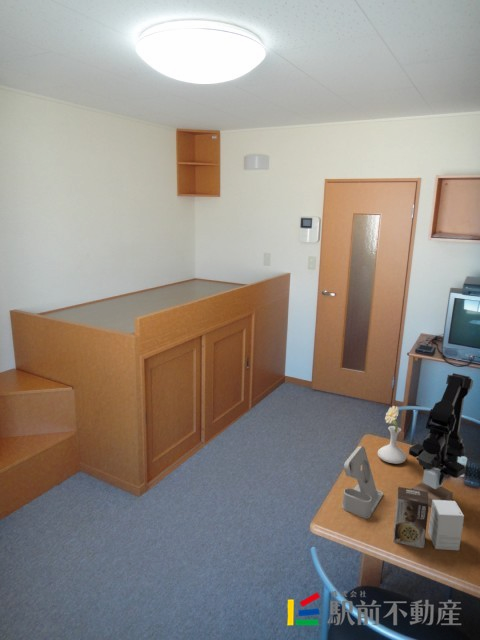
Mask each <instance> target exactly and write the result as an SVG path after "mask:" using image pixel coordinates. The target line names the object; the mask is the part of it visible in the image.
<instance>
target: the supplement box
mask: <svg viewBox="0 0 480 640" xmlns="http://www.w3.org/2000/svg"><path fill="white" fill-rule="evenodd" d="M464 518H465V515H464V514H463V512H462V510H461V508H460V506H459V505H458V503H457V502H456V500H451V501H446V500H432V507H430V515H429V522H428V523H429V524H428V531H427V534H428V536H429V537H430V540H431V541H432V545H433V546H434V549H435V550H446V551H447V550H448V551H460V545H461V540H462V533H463V527H464Z"/></svg>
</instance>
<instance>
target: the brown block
mask: <svg viewBox="0 0 480 640" xmlns="http://www.w3.org/2000/svg"><path fill="white" fill-rule="evenodd" d="M411 489H414V490H419V491H425V492H428V498H429V508H431V507H432V500H446V501H453V494H454V493H453V492H452V491H451V490H449V489H446V488H445V487H443V485H442V486H440V487H438V488H437V489H434V488H432V487H430V486H428V485H427V484H425V483H423V481H421V482H420V483H418V484H416V485H414V486H413V487H411Z"/></svg>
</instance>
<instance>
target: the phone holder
mask: <svg viewBox="0 0 480 640" xmlns="http://www.w3.org/2000/svg"><path fill="white" fill-rule="evenodd" d="M343 464H344V465H343V470H344V473H345V476H347V477H349V478H352V479H355V480H356V481H357V484H356V485H355V486H354V488H352V487H351V488H348V487H347V488H345V489H343V497H342V498H343V499H342V504H341V509H342V510H343V509H344V510H343V511H345V510H346V512H348V513H350V512H351V513H350V514H353V513H354V514H353V515H356V516H359V517H360V518H363V519H370V518H371V516H372V515H373V514H374V511H375V509H376V508H377V507H378V504H379V503H380V501H381V499H382V498H383V497H384V492H383V491H381V490H379V489H377V487H376V483H375V479H374V476H373V472H372V469H371V466H370V462H369V458H368V454H367V451H366V448H365V446H363V445H362V446H361V445H360V446H357V447H356V448H355V450H354V451H353V452H352V453H351V454H350V456H349V457H348V458H347V459H346V460H345V461H344V463H343Z"/></svg>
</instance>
